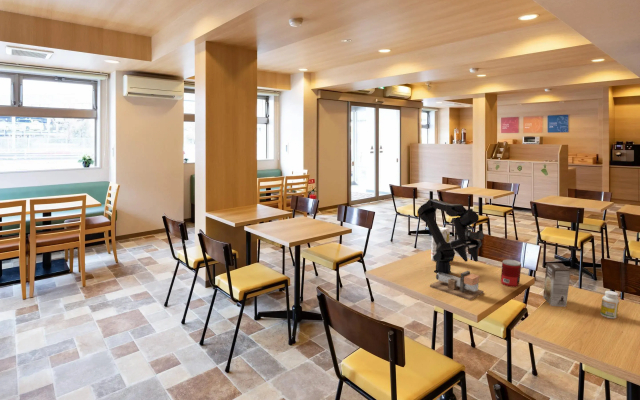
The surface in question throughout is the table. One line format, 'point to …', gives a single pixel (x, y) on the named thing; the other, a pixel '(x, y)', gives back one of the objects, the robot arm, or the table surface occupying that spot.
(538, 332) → the table surface
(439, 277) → the shaft
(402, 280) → the table surface
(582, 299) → the table surface
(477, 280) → the block
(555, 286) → the coffee box
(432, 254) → the juice carton
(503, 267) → the canned food
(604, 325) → the table surface
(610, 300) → the supplement bottle
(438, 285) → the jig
